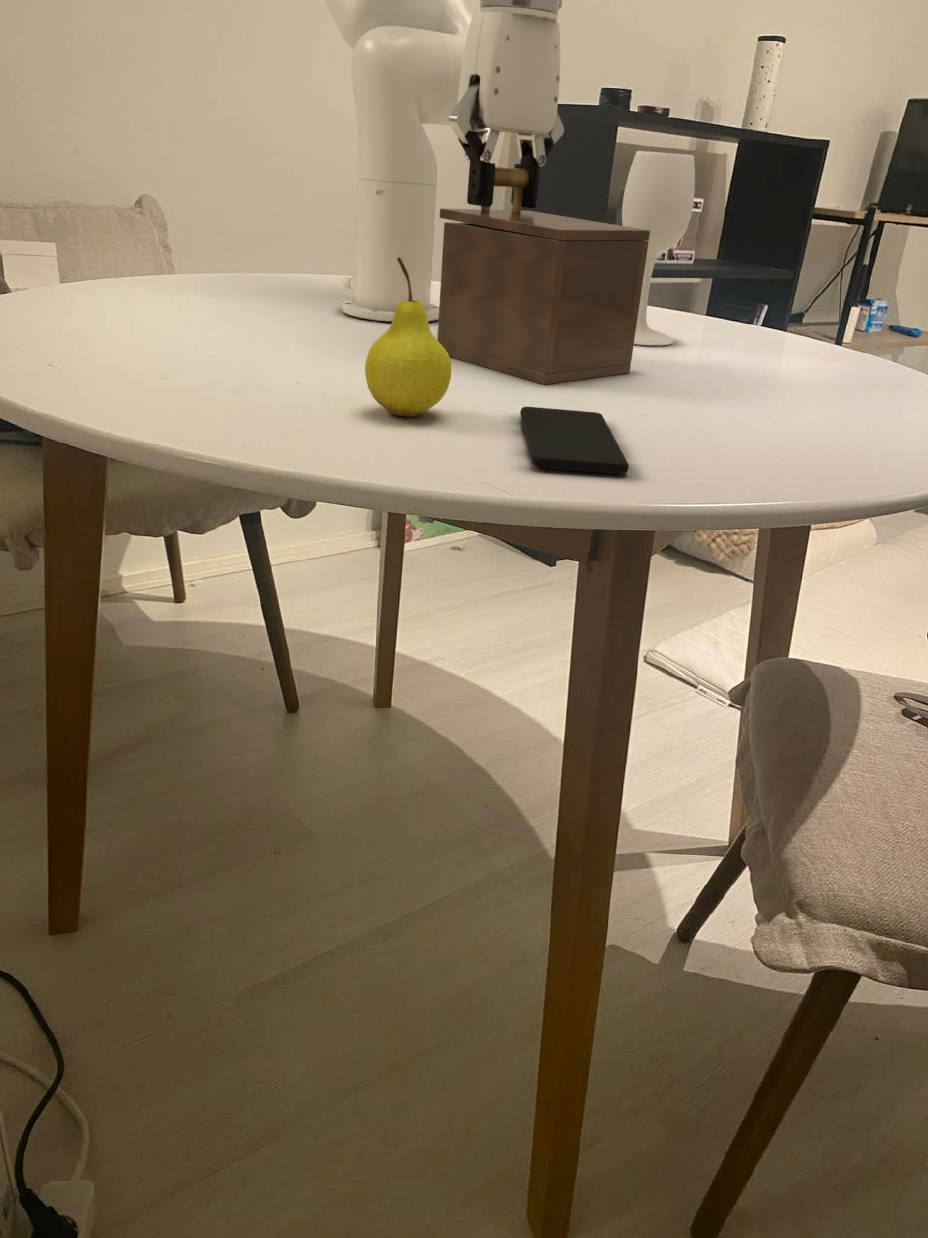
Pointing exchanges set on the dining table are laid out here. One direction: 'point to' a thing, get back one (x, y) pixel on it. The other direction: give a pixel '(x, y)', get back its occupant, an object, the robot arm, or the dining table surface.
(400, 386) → the fruit
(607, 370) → the chest
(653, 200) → the wineglass
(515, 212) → the lid
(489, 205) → the robot arm
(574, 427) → the smartphone
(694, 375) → the dining table surface
